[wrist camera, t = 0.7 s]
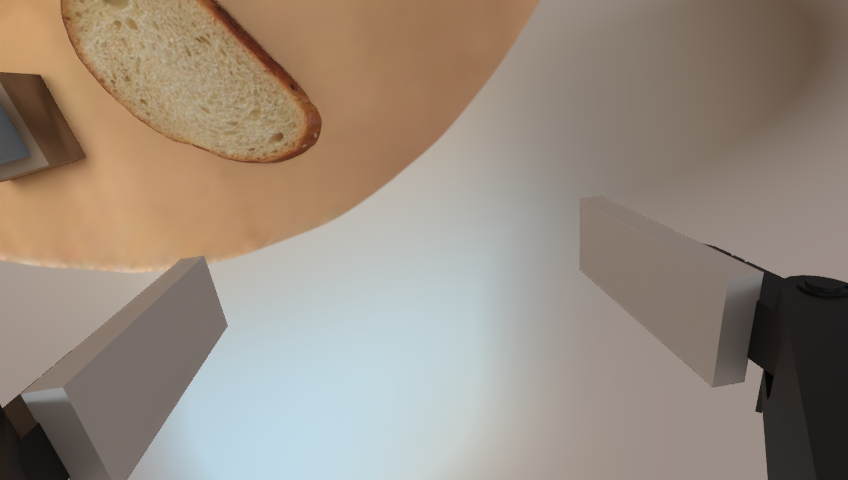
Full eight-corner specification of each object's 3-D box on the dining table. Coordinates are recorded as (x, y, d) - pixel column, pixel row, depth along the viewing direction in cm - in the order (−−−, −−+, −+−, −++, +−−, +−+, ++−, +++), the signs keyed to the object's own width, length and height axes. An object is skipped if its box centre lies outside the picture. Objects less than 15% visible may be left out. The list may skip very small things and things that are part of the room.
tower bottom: (-40, 99, 34) (-100, 99, 30) (41, 74, 34) (-7, 71, 30) (11, 179, 37) (-37, 190, 32) (87, 157, 37) (49, 164, 32)
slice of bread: (329, 154, 39) (323, 160, 35) (132, 181, 38) (106, 189, 34) (284, -74, 33) (272, -94, 29) (48, -49, 32) (7, -67, 28)
